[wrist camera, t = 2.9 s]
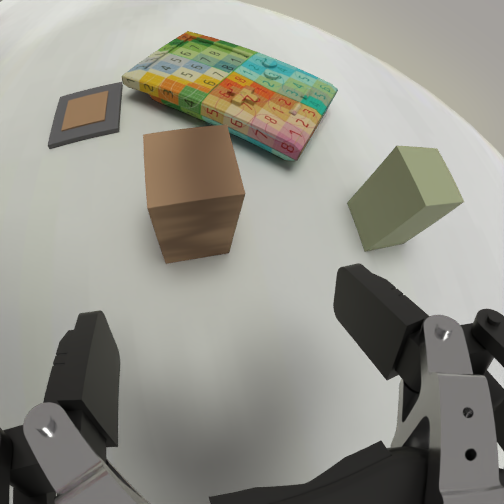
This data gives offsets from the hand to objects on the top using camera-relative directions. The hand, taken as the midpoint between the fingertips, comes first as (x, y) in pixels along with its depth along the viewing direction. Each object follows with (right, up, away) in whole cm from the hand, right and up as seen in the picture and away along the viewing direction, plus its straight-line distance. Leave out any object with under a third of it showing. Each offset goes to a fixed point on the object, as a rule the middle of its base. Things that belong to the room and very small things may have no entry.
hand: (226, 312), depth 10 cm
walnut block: (-4, +4, +14) cm, 15 cm away
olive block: (+13, +5, +17) cm, 22 cm away
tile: (-17, +17, +17) cm, 29 cm away
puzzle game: (-2, +19, +20) cm, 28 cm away
